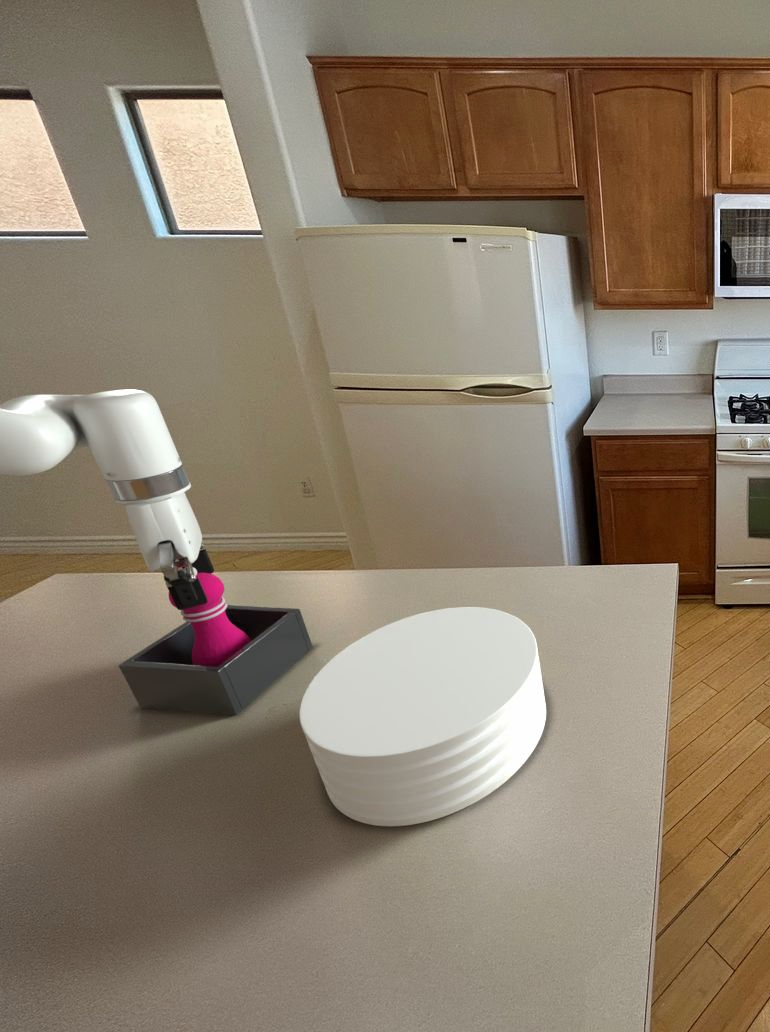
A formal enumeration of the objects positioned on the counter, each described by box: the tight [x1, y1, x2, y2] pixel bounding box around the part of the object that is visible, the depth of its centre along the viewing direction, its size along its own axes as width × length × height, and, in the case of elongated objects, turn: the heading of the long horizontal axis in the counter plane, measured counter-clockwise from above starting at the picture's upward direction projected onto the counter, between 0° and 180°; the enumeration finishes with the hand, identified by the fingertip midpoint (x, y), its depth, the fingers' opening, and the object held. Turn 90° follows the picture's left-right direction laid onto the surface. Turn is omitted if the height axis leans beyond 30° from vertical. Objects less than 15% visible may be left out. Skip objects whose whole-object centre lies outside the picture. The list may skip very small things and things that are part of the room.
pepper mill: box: [168, 568, 251, 667], centre depth 84 cm, size 7×7×20 cm
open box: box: [117, 604, 314, 716], centre depth 86 cm, size 15×15×8 cm
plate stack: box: [299, 606, 547, 827], centre depth 76 cm, size 28×28×12 cm
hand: (197, 589), depth 81 cm, fingers open, 9 cm apart
